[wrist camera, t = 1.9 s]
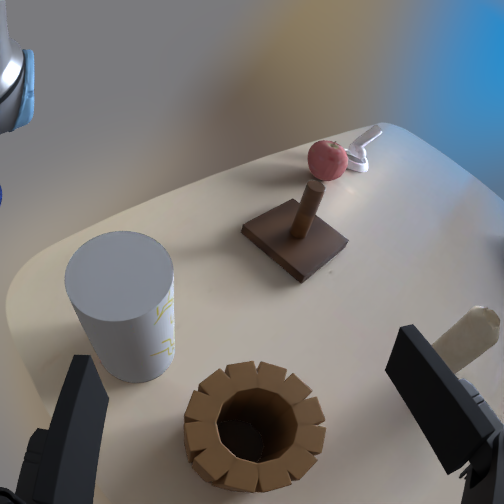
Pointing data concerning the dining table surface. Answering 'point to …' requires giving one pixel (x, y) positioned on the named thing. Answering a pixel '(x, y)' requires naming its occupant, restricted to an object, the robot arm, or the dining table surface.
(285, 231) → the tape stand
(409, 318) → the dining table surface
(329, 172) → the apple
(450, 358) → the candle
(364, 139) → the hook
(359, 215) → the dining table surface
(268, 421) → the wooden slatted pot
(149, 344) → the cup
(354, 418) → the dining table surface
